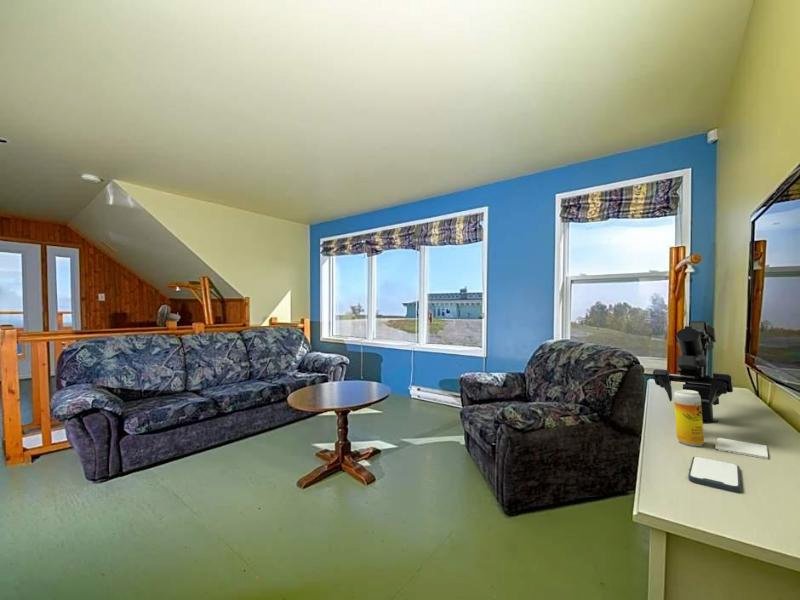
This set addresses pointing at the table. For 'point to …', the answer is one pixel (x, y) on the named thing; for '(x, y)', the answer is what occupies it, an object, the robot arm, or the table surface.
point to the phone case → (715, 474)
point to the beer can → (689, 417)
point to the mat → (742, 448)
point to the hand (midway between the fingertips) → (689, 402)
